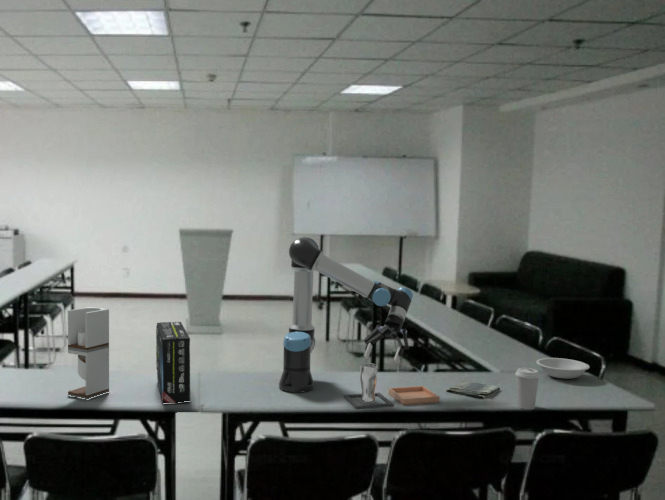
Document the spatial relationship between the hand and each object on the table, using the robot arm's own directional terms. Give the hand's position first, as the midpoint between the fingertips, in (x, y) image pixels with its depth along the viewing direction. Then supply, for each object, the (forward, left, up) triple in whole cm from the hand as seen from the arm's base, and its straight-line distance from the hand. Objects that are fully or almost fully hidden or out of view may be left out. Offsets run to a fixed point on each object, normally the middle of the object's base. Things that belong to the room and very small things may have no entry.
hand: (380, 359), depth 263 cm
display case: (-116, +27, -16) cm, 120 cm away
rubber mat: (-7, -6, -15) cm, 18 cm away
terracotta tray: (+13, -6, -15) cm, 21 cm away
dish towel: (+43, -2, -16) cm, 46 cm away
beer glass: (-7, -6, -16) cm, 18 cm away
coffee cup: (+53, -27, -16) cm, 61 cm away
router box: (-83, +24, -16) cm, 88 cm away
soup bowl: (+97, +10, -16) cm, 98 cm away
